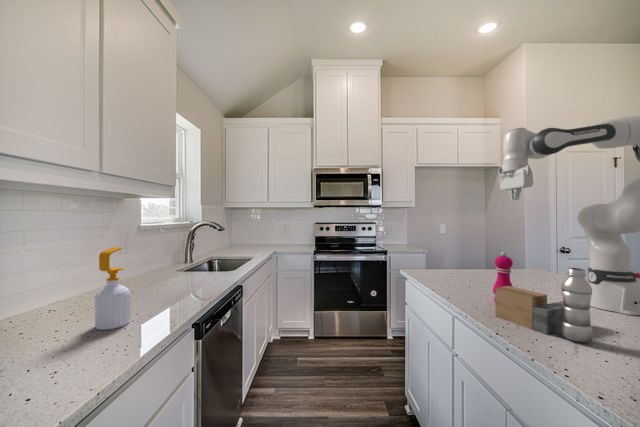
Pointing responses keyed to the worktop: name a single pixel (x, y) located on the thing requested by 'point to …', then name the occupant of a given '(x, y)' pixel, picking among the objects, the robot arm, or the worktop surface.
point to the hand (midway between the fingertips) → (515, 199)
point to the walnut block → (518, 305)
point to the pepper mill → (502, 272)
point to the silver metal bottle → (576, 306)
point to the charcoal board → (548, 317)
